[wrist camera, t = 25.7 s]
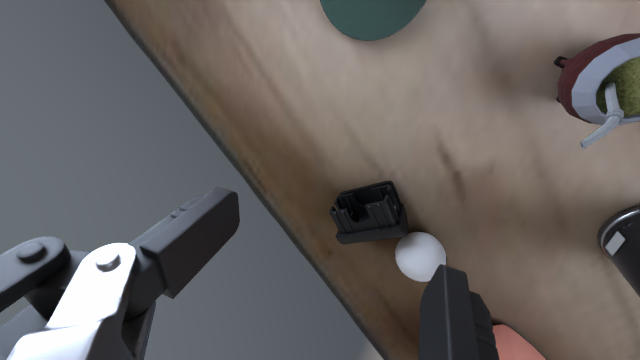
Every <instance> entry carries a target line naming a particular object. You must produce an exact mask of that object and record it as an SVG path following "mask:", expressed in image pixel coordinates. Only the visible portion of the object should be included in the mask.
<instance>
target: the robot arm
mask: <svg viewBox="0 0 640 360" xmlns="http://www.w3.org/2000/svg"><path fill="white" fill-rule="evenodd" d="M239 222H240V218H239V205H238V195H237V193H236V192H233V191H230V190H227V189H224V188H221V187H217V188H215V189H214V190H212V191H211V192H210V193H208V194H207V195H201V196H199V197H196V198H193V199H191V200H189V201H188V202H186V203H185V204H183V205H182V206H181V207H179V209H178V210H175V211H174V212H172V213H171V214H170V216H167V217H165V218H164V219H163V220H161V221H160V222H159V223H157V224H156V225H154V226H153V227H152V228H150V229H149V230H147V231H146V232H145V233H144V234H142V235H141V236H139V237H138V238H136V239H135V240H134V241H132V242H131V243H129V244H125V243H115V244H110V245H106V246H103V247H101V248H99V249H97V250H95V251H93V252H91V251H77V250H68V248H67V247H66V245H65V243H64V242H63V240H62V239H60V238H58V237H53V236H46V237H39V238H35V239H31V240H29V241H26V242H24V243H21V244H19V245H17V246H15V247H14V248H12V249H10V250H8V251H6V252H5V253H3V254H1V255H0V312H2V311H3V310H4V309H6V308H7V307H9V306H10V305H12V304H13V303H14V302H16V301H17V300H19V299H20V298H21V297H23V296H24V297H25V298H26V299H27V301H28V302H29V303H30V305H29V306H28V307H26V308H25V309H24V310H22V311H21V312H19V313H18V314H17V315H16V316H14V317H13V318H11V319H10V320H9V321H8V322H6V323H5V324H3V325H2V326H1V327H0V360H144V356H145V351H146V347H147V342H148V338H149V333H150V329H151V324H152V320H153V315H154V311H155V306H156V302H155V300H156V299H157V298H158V297H159V296H160V295H161V294H164V295H166V296H168V297H170V298H172V299H173V298H174V297H175V296H176V295H177V294H178V293H179V292H180V291H181V290H182V289H183V288H184V287H185V286H186V285H187V284H188V283H189V282H190V280H191V279H192V278H193V277H194V276H195V275H196V274H197V273H198V272H199V271H200V270H201V269H202V268H203V267H204V265H205V264H206V263H207V262H208V261H209V260H210V259H211V258H212V257H213V256H214V255H215V254H216V253H217V252H218V251H219V250H220V249H221V247H222V246H223V245H224V244H225V243H226V242H227V241H228V240H229V239H230V238H231V237H232V236H233V235H234V234H235V232H236V230H237V228H238V226H239ZM598 244H599V246H600V248H601V249H602V251H603V252H604V253H605V255H606V256H607V257H608V258H609V259H611V260H612V262H613V263H614V264H615V266H616V267H617V268H618V270H619V271H620V272H621V274H622V275H623V276H624V278H625V279H626V280H627V281H628V283H629V284H630V285H631V287H632V288H633V289H634V290H635V292H636V293H637V294H638V295H639V297H640V205H639V206H635V207H632V208H629V209H627V210H624V211H622V212H620V213H618V214H616V215H614V216H613V217H611V218H610V219H609V220H608V221H606V222H605V223H604V225H603V226H602V227H601V229H600V231H599V233H598ZM419 360H500V359H499V355H498V350H497V348H496V341H495V336H494V333H493V326H492V322H491V317H490V312H489V310H488V308H487V307H486V305H485V303H484V302H483V300H482V298H481V297H480V295H479V294H477V293H474V292H471V291H469V287H468V280H467V275H466V273H465V272H463V271H460V270H457V269H454V268H451V267H449V266H446V265H443V264H440V265H439V266H438V268H437V269H436V271H435V273H434V275H433V276H432V278H431V280H430V282H429V283H428V285H427V287H426V288H425V290H424V293H423V296H422V299H421V305H420V333H419Z"/></svg>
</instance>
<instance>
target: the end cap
mask: <svg viewBox="0 0 640 360" xmlns="http://www.w3.org/2000/svg"><path fill="white" fill-rule="evenodd" d="M334 203H335V205H336V207H337V209H338V210H336V209H335V207H331V209H330V211H329V213H330V215H331V217H332V219H333V220H334V222H335V224H336V226H337V228H338V232H337V235H336V238H337V240H338V241H339V242H340V243H341V244H351V243H358V242H366V241H374V240H382V239H390V238H398V237H405V236H406V235H407V232H408V222H407V216H406V211H405V208H404V205H403V204H402V203H401V202H400V199H399V197H398V194H397V192H396V189H395V187H394V184H393V183H392V182H391V181H386V182H382V183H377V184H373V185H369V186H365V187H361V188H357V189H352V190H348V191H344V192H341V194H340V196H338V197H337V198H336V200H335V202H334Z"/></svg>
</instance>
